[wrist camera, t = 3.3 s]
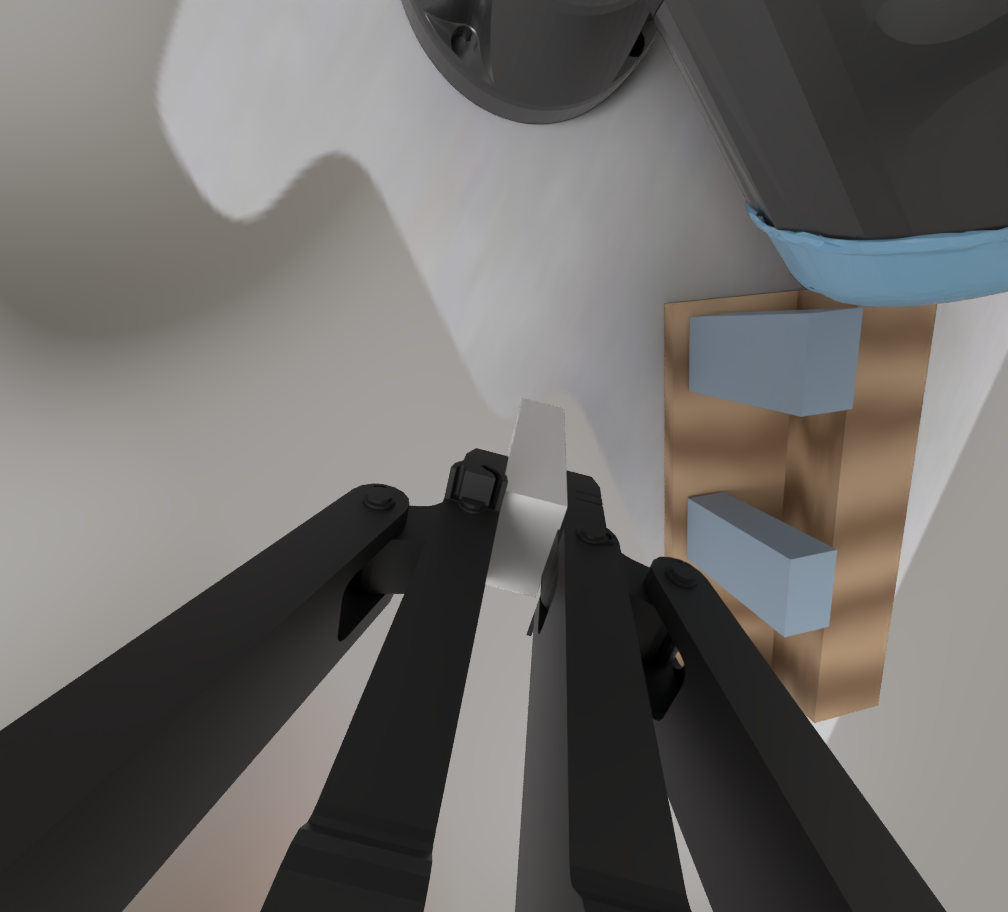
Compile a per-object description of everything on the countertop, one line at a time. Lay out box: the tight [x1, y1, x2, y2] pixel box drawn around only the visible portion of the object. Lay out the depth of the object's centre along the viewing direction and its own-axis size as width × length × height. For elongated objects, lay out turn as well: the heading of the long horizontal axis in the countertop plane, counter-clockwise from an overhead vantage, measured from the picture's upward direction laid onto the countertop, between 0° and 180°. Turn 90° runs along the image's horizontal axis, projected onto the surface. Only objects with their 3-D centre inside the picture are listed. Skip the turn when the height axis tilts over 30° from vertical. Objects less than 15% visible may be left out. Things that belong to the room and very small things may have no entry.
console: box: [664, 289, 937, 723], centre depth 36 cm, size 33×16×6 cm, turn 5°
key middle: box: [687, 492, 837, 637], centre depth 32 cm, size 5×3×10 cm, turn 5°
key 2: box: [689, 307, 863, 417], centre depth 29 cm, size 5×3×10 cm, turn 5°
